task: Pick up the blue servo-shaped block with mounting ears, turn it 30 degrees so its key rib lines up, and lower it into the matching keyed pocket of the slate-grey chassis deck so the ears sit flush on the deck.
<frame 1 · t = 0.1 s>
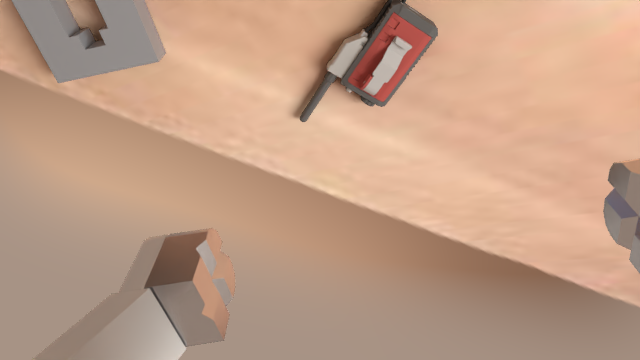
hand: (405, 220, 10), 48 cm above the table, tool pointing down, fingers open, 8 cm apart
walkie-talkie: (365, 66, 58), on the table
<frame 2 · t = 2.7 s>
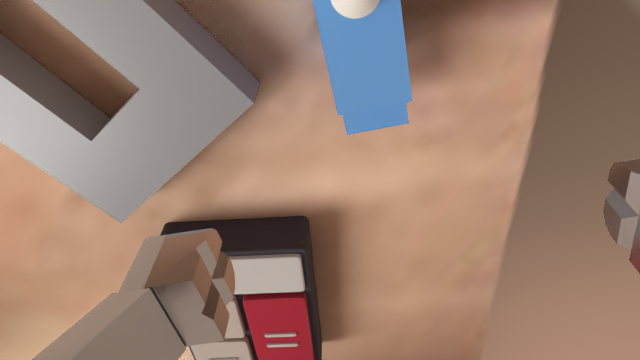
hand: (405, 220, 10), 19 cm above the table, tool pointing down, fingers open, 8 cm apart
chassis deck: (72, 45, 27), on the table
calculator: (251, 283, 39), on the table
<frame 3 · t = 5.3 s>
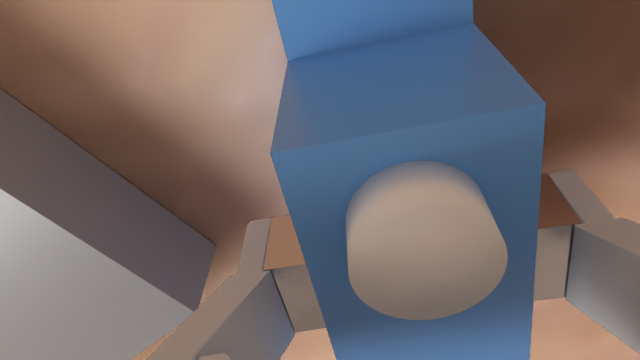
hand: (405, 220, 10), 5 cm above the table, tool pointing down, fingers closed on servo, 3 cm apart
servo: (383, 118, 14), on the table, touching gripper
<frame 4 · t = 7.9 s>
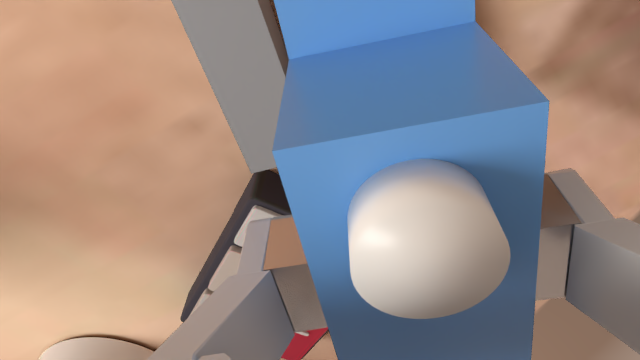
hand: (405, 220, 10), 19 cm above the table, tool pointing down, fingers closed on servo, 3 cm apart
servo: (384, 117, 14), point 14 cm above the table, touching gripper
calculator: (283, 258, 38), on the table
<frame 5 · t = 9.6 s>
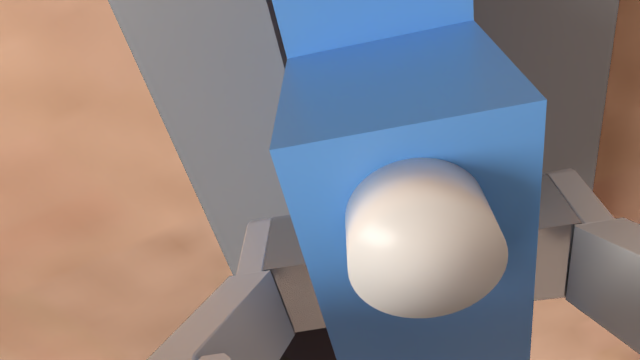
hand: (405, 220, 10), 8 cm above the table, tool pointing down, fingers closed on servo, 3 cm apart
chassis deck: (371, 73, 16), on the table
servo: (383, 117, 14), point 3 cm above the table, touching gripper
when the fingers open (6 cm above the table, at t = 10.8 s): servo stays where it is, resting on chassis deck.
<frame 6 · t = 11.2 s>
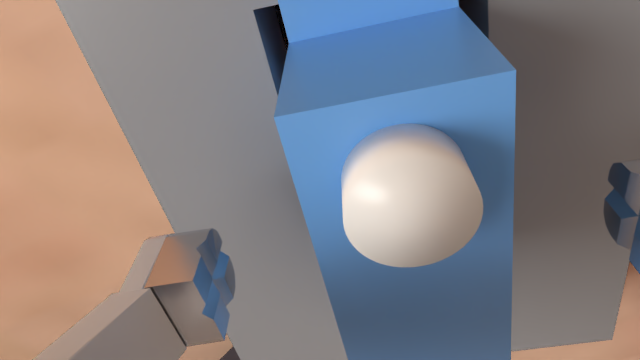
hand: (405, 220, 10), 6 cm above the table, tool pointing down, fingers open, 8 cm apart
chassis deck: (380, 103, 14), on the table
servo: (379, 103, 14), resting on chassis deck
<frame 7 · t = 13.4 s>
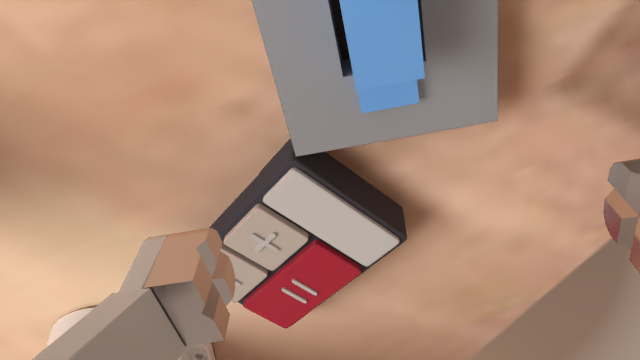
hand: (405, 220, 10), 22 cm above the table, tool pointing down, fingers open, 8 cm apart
calculator: (293, 226, 39), on the table
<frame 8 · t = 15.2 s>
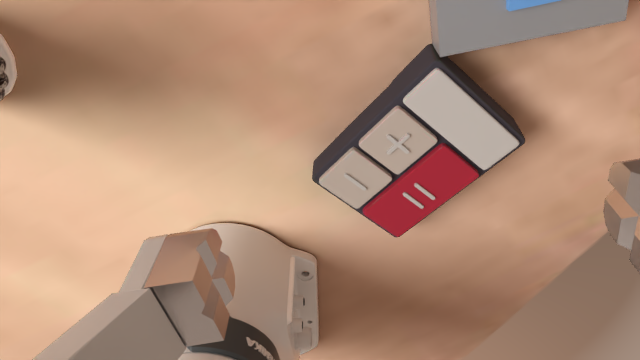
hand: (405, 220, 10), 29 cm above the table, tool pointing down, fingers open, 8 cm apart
calculator: (409, 140, 43), on the table
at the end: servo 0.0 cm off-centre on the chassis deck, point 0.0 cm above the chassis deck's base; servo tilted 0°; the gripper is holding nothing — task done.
